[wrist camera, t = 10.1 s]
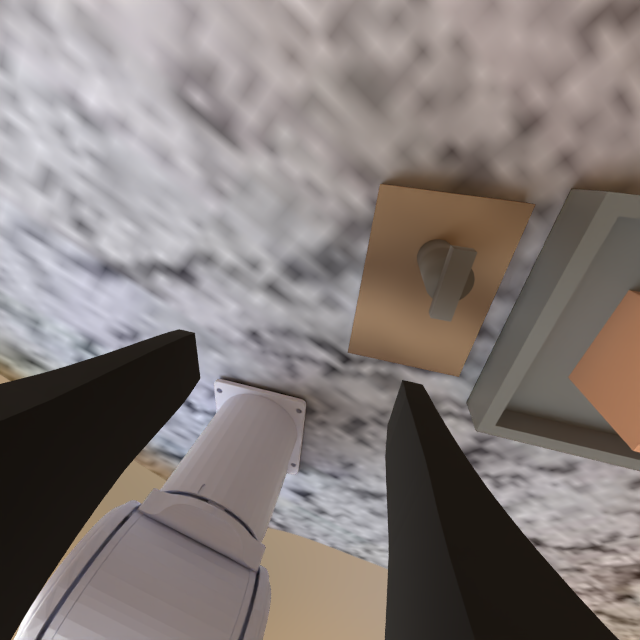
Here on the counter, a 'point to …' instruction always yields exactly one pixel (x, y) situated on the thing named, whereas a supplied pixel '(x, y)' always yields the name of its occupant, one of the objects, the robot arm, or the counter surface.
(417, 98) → the counter surface
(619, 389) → the collar
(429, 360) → the stake board
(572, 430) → the tray
